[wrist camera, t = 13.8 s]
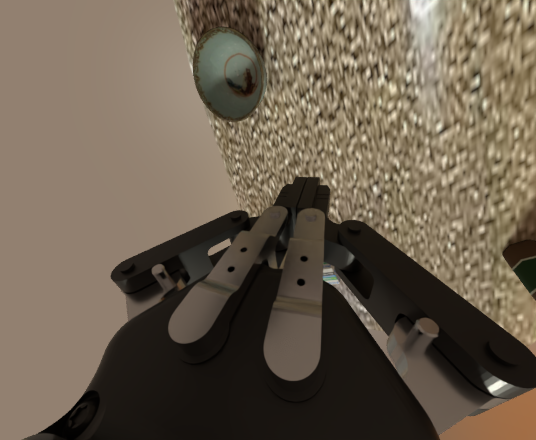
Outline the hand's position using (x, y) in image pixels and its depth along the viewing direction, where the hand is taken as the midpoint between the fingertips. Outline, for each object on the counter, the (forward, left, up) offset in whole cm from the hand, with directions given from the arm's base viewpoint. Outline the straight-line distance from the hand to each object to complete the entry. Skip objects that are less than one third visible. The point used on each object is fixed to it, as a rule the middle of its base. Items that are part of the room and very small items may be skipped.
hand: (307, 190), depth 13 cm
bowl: (-14, -13, -35) cm, 40 cm away
